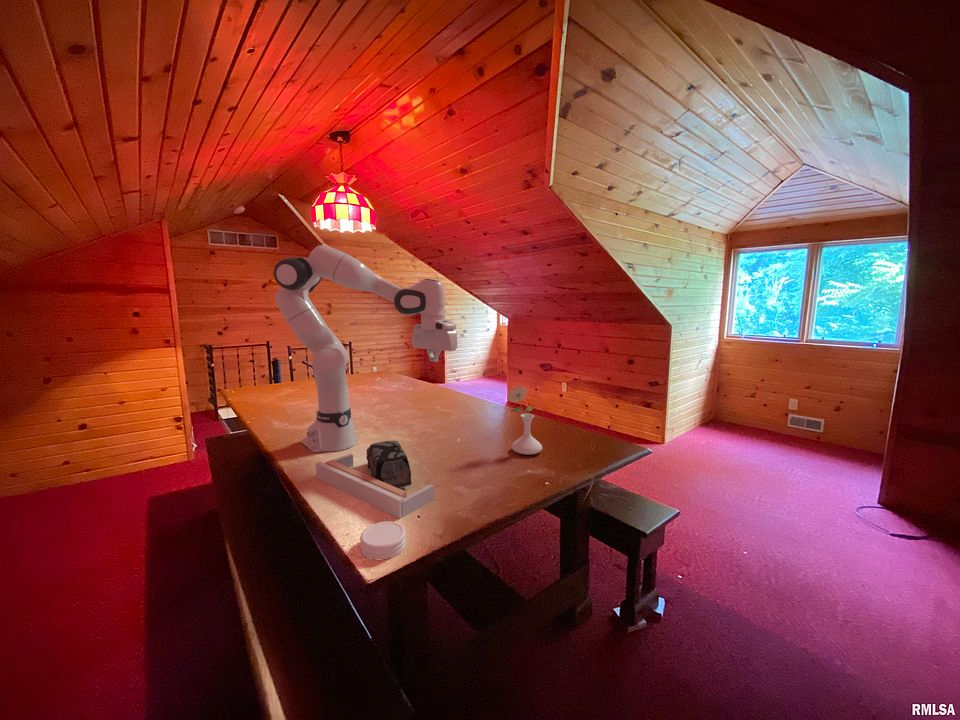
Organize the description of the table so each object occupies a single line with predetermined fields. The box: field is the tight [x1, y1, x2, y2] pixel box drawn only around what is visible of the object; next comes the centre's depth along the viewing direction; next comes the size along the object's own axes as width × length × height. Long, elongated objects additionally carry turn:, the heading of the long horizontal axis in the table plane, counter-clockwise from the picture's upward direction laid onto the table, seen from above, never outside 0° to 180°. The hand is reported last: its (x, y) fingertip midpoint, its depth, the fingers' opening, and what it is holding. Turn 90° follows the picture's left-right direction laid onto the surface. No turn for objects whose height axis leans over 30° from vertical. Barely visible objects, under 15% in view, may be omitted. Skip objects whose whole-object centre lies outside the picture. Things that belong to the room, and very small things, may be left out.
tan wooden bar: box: [325, 459, 408, 498], centre depth 112 cm, size 35×2×5 cm, turn 53°
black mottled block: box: [366, 440, 413, 488], centre depth 122 cm, size 11×25×10 cm, turn 23°
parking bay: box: [314, 453, 435, 520], centre depth 114 cm, size 39×12×5 cm, turn 53°
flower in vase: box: [507, 385, 543, 456], centre depth 141 cm, size 13×11×25 cm
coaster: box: [359, 521, 407, 560], centre depth 87 cm, size 10×10×4 cm
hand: (434, 361), depth 143 cm, fingers closed
